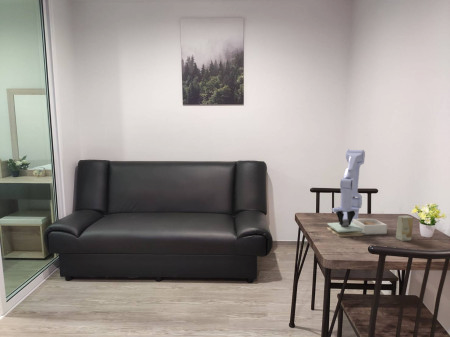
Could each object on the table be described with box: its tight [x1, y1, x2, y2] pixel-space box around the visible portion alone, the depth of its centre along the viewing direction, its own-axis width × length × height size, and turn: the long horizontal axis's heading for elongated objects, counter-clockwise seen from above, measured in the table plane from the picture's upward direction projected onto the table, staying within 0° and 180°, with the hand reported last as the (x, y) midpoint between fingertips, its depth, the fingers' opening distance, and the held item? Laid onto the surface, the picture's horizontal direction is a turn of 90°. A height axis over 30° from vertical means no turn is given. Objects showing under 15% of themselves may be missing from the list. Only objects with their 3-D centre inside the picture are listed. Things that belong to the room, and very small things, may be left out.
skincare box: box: [395, 214, 414, 242], centre depth 179 cm, size 6×4×12 cm
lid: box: [327, 219, 363, 232], centre depth 191 cm, size 14×14×5 cm
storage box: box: [353, 218, 388, 236], centre depth 194 cm, size 13×13×5 cm
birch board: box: [326, 226, 364, 238], centre depth 191 cm, size 15×14×1 cm
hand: (344, 224), depth 191 cm, fingers closed on lid, 4 cm apart
